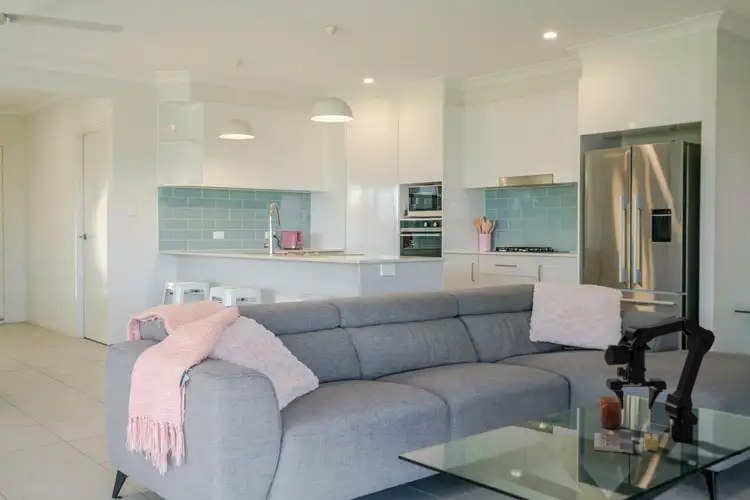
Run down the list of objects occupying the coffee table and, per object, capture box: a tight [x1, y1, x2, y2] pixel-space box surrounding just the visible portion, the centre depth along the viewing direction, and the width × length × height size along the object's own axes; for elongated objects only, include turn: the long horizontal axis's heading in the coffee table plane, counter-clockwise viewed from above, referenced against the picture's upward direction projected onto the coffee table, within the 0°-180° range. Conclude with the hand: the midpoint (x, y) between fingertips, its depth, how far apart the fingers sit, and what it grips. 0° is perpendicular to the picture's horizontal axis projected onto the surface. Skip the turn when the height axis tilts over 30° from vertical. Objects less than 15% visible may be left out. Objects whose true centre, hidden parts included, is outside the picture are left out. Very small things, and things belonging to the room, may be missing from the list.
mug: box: [598, 395, 623, 430], centre depth 267 cm, size 12×9×10 cm
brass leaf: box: [643, 433, 659, 452], centre depth 244 cm, size 4×6×4 cm, turn 163°
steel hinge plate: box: [593, 428, 634, 454], centre depth 248 cm, size 12×16×3 cm
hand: (635, 409), depth 249 cm, fingers open, 9 cm apart
